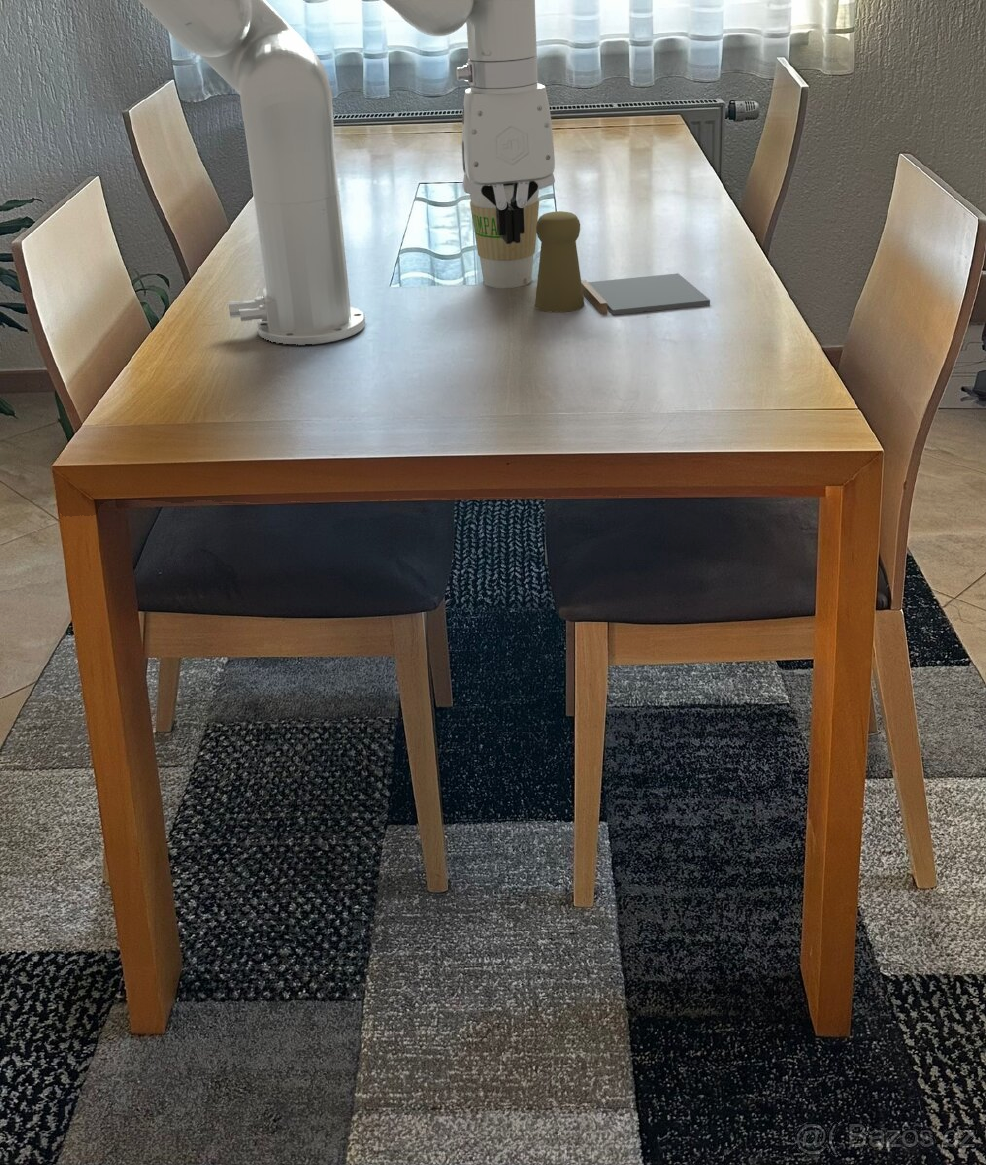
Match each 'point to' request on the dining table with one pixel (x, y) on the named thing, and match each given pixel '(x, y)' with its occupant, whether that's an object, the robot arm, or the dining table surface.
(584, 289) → the walnut strip
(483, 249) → the coffee cup
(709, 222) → the dining table surface
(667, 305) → the charcoal mat
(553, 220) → the cork
